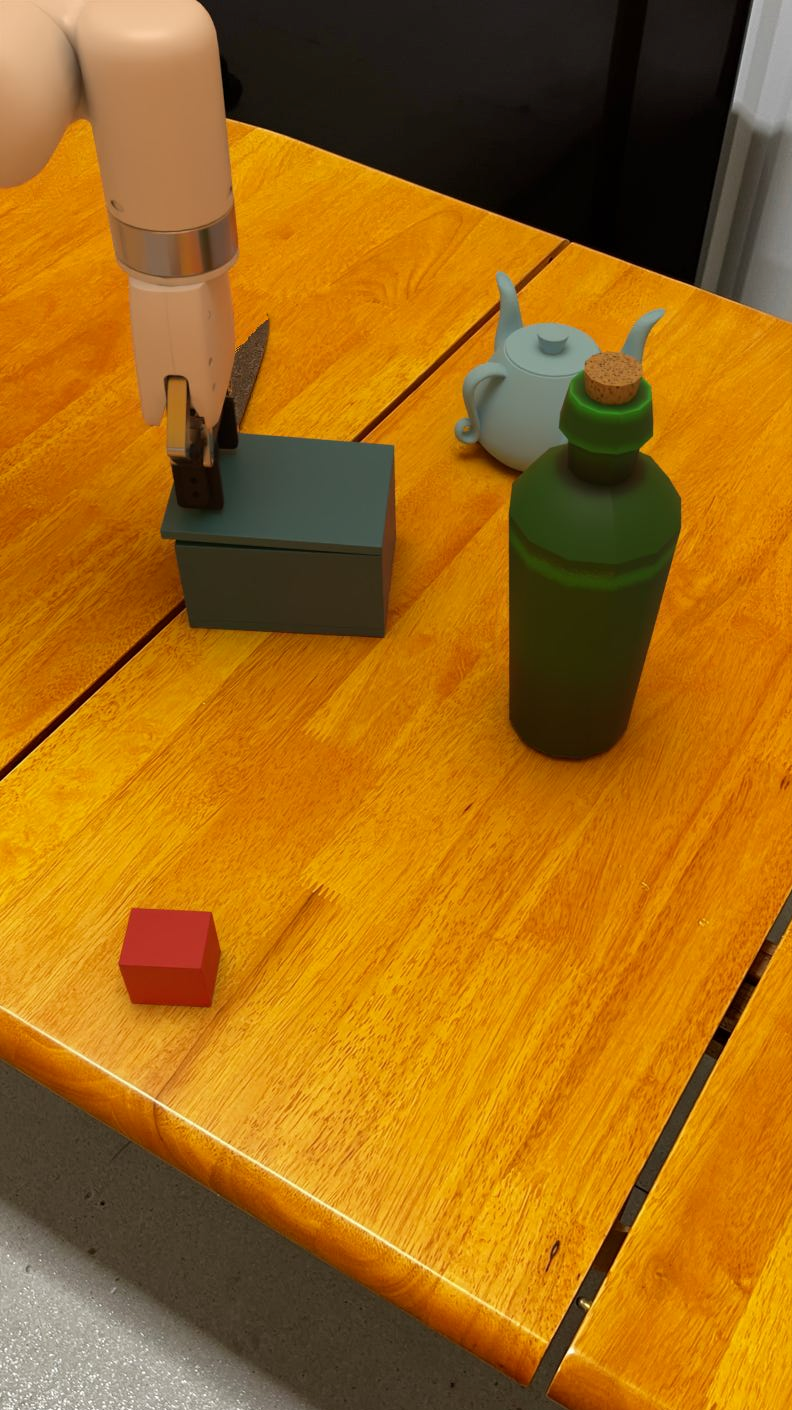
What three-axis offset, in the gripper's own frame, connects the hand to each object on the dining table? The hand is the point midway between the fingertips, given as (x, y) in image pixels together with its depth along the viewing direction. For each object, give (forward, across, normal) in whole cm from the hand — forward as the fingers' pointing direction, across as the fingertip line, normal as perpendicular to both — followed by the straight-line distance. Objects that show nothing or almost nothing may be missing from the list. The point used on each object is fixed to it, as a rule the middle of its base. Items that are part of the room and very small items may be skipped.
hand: (209, 473), depth 94 cm
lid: (+1, 0, +5) cm, 5 cm away
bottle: (+9, +13, +27) cm, 31 cm away
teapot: (+9, -20, +26) cm, 34 cm away
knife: (+10, -21, -3) cm, 23 cm away
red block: (+10, +36, +3) cm, 37 cm away
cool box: (+10, 0, +6) cm, 11 cm away
